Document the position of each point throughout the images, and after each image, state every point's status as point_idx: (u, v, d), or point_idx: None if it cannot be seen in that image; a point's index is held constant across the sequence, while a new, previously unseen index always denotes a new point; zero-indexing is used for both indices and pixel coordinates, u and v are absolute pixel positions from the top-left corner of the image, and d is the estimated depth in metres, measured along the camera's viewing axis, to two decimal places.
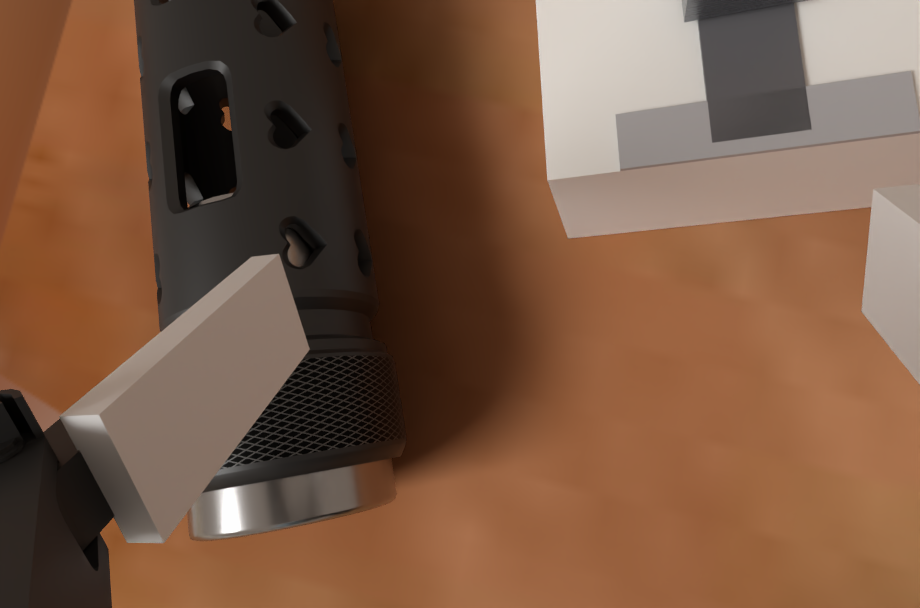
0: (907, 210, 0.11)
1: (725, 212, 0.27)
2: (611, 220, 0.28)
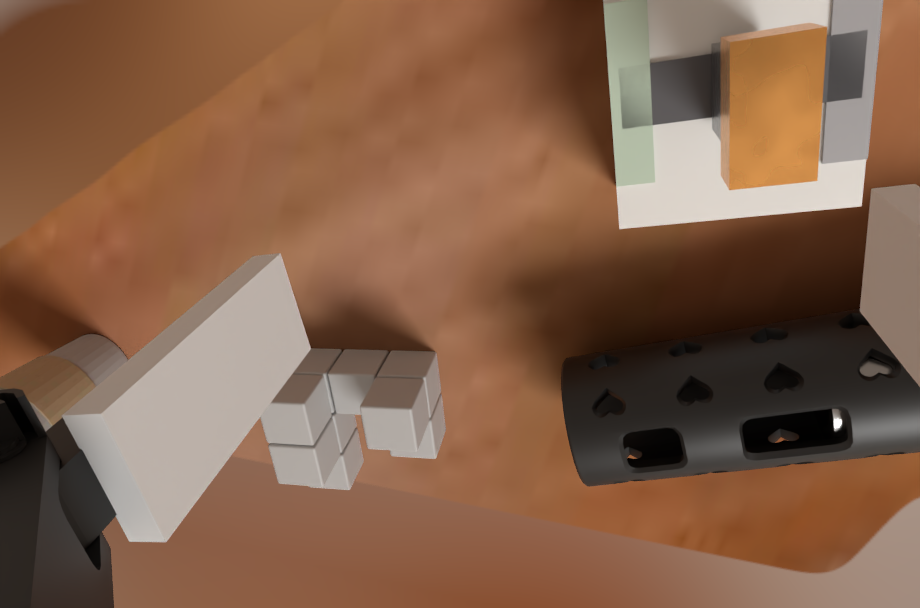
0: (905, 210, 0.11)
1: None
2: None
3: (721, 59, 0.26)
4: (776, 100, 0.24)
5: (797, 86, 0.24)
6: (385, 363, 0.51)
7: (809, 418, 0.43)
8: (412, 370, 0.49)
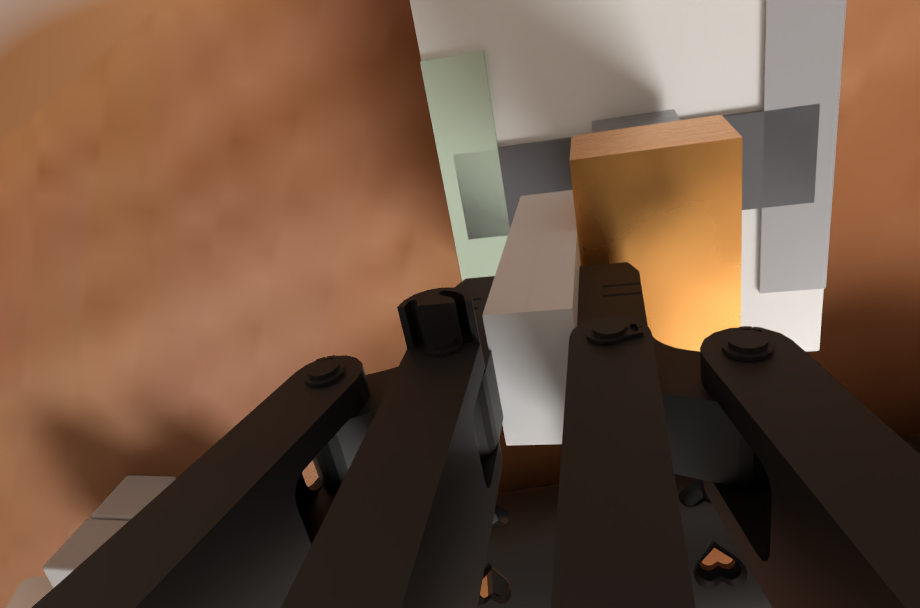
0: (548, 209, 0.15)
1: None
2: None
3: None
4: (660, 259, 0.13)
5: (695, 237, 0.13)
6: None
7: None
8: None
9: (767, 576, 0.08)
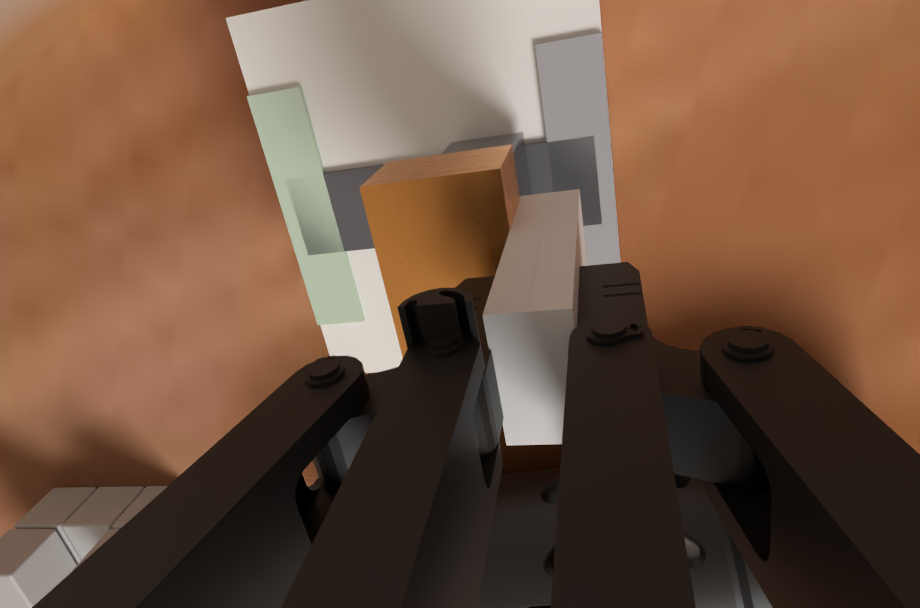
0: (548, 209, 0.15)
1: None
2: None
3: None
4: (449, 274, 0.15)
5: (475, 255, 0.15)
6: (129, 506, 0.43)
7: None
8: None
9: (767, 576, 0.08)
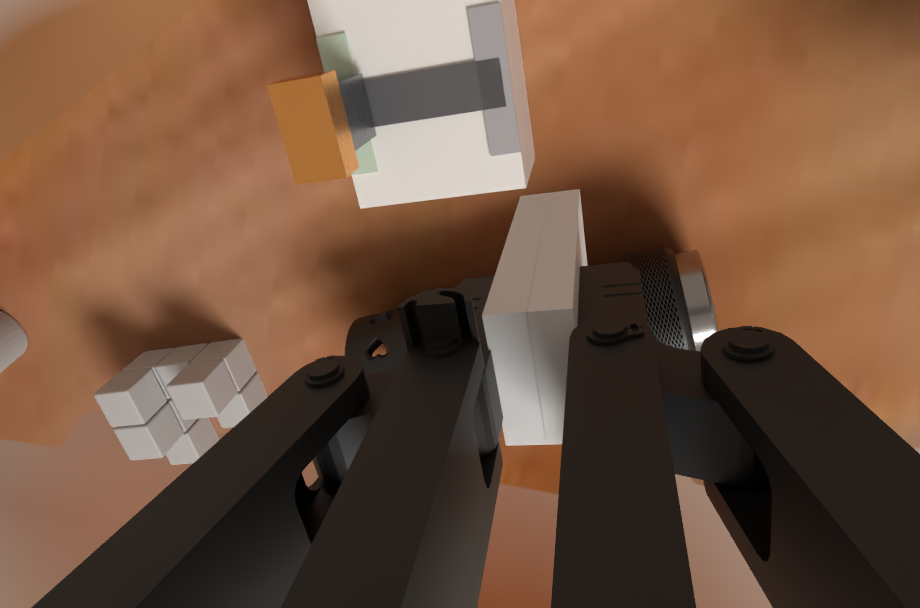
0: (549, 209, 0.15)
1: (521, 70, 0.46)
2: (529, 138, 0.47)
3: None
4: (306, 123, 0.36)
5: (315, 114, 0.35)
6: (200, 352, 0.63)
7: None
8: (217, 354, 0.61)
9: (767, 576, 0.08)
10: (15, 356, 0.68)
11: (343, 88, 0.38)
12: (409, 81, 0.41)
